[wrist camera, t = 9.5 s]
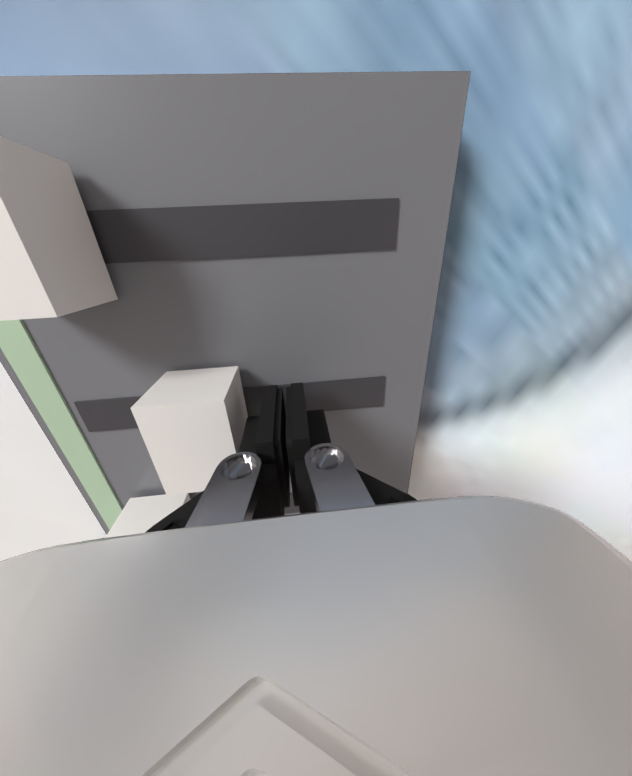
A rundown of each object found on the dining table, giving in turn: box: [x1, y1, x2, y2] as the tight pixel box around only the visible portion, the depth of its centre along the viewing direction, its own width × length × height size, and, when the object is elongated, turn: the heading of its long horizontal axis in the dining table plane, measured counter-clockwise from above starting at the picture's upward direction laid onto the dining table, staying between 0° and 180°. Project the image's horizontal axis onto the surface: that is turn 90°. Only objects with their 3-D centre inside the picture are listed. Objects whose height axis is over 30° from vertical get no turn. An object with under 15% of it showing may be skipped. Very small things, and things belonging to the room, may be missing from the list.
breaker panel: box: [0, 71, 471, 538], centre depth 12 cm, size 18×22×5 cm
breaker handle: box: [130, 366, 248, 495], centre depth 11 cm, size 3×4×3 cm
